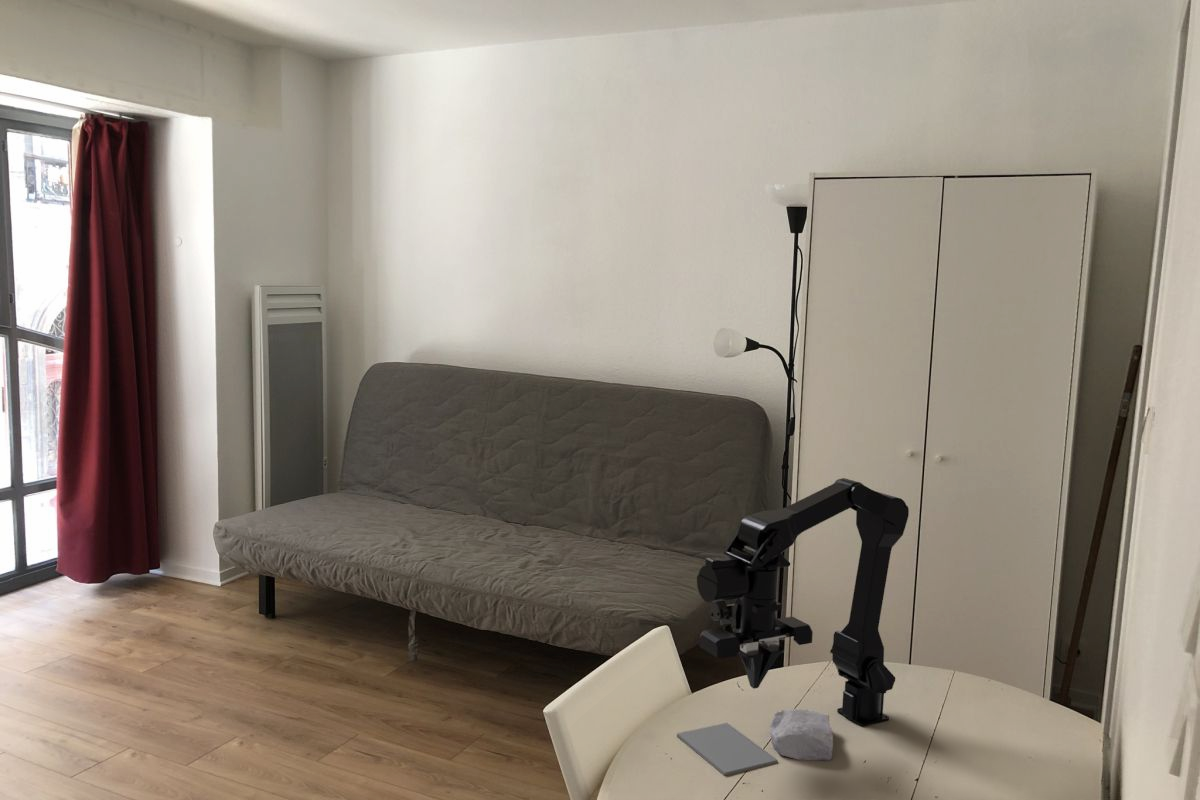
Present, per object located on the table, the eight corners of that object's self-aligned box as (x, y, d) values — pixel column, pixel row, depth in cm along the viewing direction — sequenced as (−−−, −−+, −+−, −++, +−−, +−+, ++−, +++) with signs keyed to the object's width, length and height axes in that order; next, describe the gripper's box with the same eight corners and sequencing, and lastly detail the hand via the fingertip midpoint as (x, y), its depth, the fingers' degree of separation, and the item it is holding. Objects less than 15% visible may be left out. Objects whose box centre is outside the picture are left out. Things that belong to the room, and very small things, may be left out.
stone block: (774, 767, 150) (838, 762, 149) (770, 738, 150) (834, 732, 149) (771, 735, 162) (830, 730, 161) (767, 708, 162) (826, 703, 161)
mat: (726, 725, 161) (727, 722, 161) (777, 762, 149) (777, 759, 149) (676, 736, 157) (676, 733, 157) (724, 775, 145) (724, 772, 144)
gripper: (775, 574, 164) (770, 661, 166) (683, 586, 155) (679, 677, 157) (817, 593, 154) (811, 685, 156) (721, 607, 145) (716, 704, 147)
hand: (754, 687), depth 154 cm, fingers closed
